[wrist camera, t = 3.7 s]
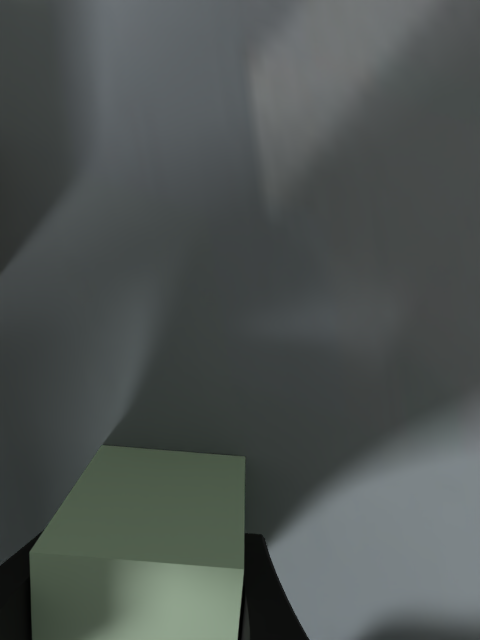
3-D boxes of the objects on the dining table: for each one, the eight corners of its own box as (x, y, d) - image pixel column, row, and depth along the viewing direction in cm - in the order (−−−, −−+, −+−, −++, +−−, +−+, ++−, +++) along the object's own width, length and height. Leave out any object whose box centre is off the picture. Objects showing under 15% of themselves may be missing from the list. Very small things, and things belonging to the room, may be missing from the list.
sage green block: (100, 567, 14) (34, 719, 10) (101, 445, 13) (29, 552, 9) (234, 578, 14) (228, 735, 10) (245, 456, 13) (244, 569, 9)
